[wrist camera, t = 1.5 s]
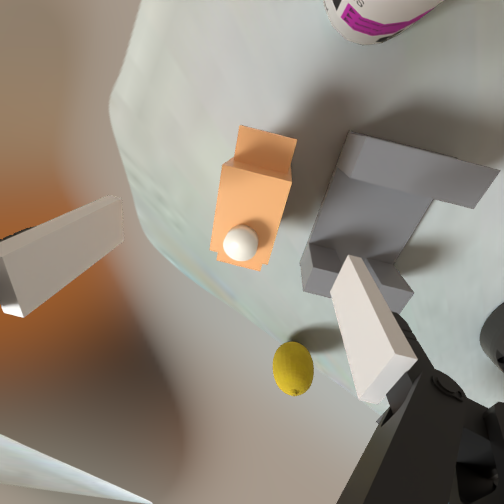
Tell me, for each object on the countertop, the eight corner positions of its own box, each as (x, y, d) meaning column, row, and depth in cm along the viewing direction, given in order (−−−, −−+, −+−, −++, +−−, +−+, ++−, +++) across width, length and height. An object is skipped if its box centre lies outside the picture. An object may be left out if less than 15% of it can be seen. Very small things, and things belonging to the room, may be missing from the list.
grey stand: (452, 156, 23) (502, 167, 17) (377, 282, 30) (397, 316, 25) (348, 130, 23) (367, 133, 17) (299, 262, 30) (302, 292, 25)
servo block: (297, 136, 23) (304, 145, 15) (267, 243, 29) (259, 296, 20) (247, 123, 23) (224, 125, 15) (227, 233, 29) (201, 281, 20)
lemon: (269, 350, 38) (266, 401, 31) (279, 325, 35) (278, 376, 28) (303, 359, 38) (307, 412, 31) (316, 335, 35) (323, 388, 28)
